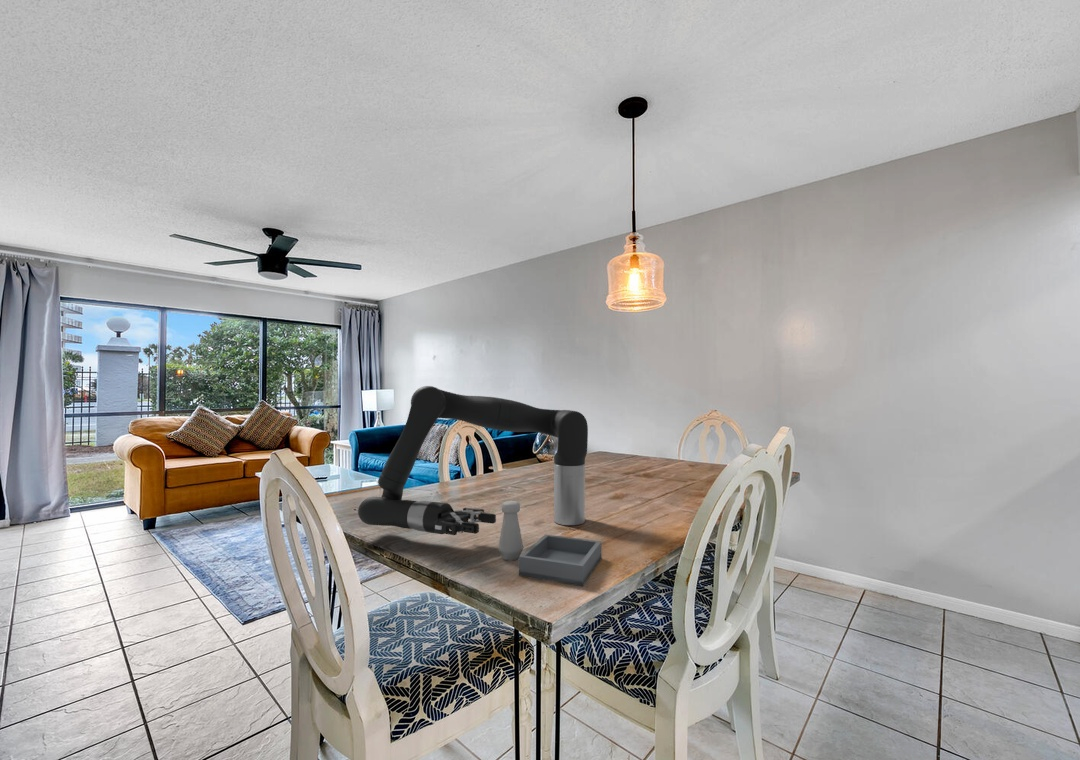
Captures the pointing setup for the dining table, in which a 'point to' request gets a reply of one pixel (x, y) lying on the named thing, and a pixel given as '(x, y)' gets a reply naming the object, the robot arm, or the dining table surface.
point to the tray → (560, 559)
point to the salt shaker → (510, 532)
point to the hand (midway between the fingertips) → (487, 523)
